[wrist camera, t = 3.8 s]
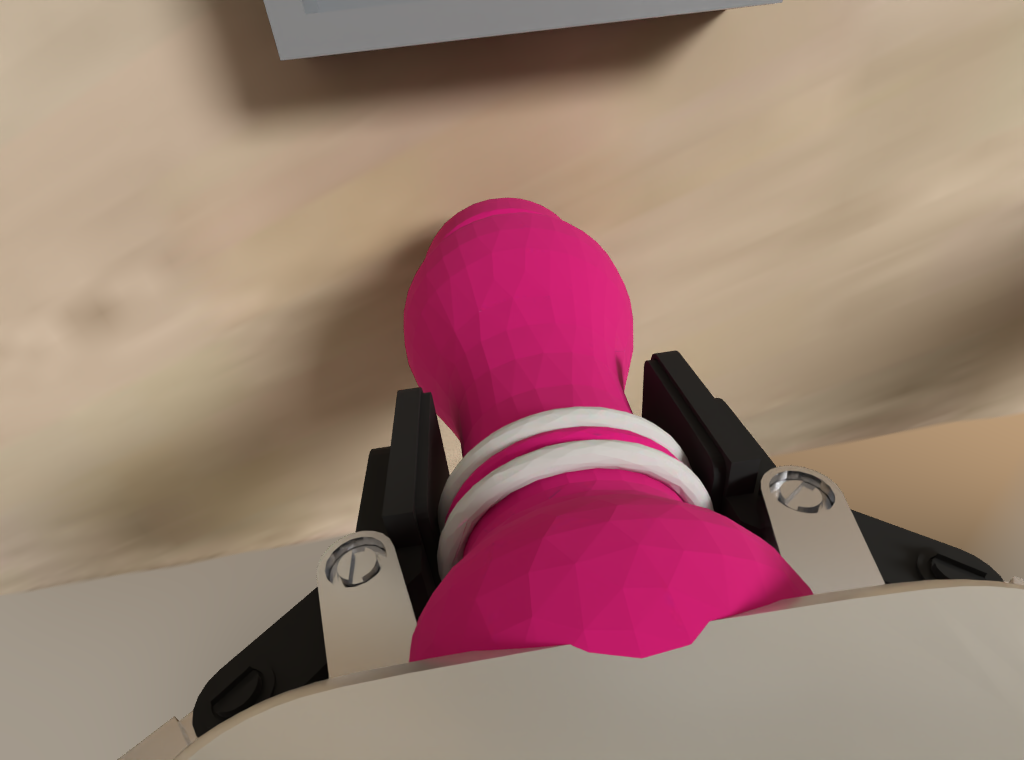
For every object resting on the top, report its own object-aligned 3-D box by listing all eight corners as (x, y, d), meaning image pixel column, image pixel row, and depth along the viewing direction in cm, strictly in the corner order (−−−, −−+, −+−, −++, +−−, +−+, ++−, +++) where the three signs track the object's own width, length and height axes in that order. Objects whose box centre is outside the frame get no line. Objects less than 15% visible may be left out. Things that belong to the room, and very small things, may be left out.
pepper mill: (600, 340, 23) (1058, 1182, 6) (435, 373, 23) (420, 1317, 6) (586, 163, 19) (1837, 1185, 2) (386, 204, 19) (-95, 1600, 2)
